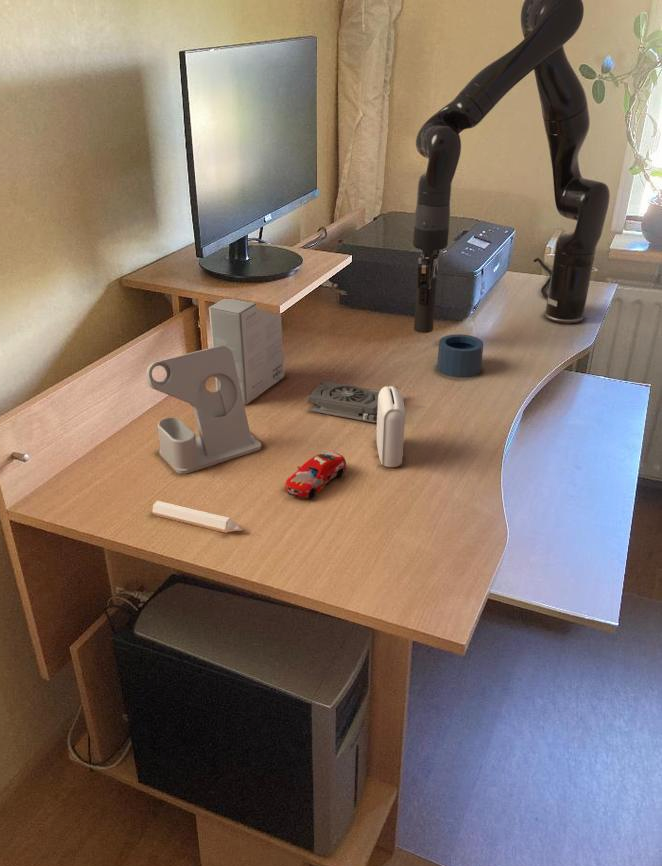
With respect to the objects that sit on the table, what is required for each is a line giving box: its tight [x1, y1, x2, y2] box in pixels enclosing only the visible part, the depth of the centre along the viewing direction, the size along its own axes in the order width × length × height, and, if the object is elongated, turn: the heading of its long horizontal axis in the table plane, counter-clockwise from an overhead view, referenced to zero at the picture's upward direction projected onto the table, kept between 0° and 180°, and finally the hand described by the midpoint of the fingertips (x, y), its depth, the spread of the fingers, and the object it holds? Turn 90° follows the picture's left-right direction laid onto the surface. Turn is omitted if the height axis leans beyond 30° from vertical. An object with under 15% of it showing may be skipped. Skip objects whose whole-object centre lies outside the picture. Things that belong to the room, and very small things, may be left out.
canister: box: [413, 276, 438, 334], centre depth 178 cm, size 4×4×12 cm
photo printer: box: [375, 385, 406, 468], centre depth 139 cm, size 10×4×12 cm, turn 0°
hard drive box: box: [208, 290, 285, 406], centre depth 161 cm, size 16×8×20 cm, turn 150°
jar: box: [436, 333, 485, 379], centre depth 171 cm, size 9×10×6 cm
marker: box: [151, 500, 244, 534], centre depth 124 cm, size 3×2×16 cm
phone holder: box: [145, 346, 262, 475], centre depth 139 cm, size 17×10×18 cm, turn 122°
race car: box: [284, 451, 347, 499], centre depth 133 cm, size 13×5×4 cm, turn 140°
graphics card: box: [306, 380, 399, 424], centre depth 158 cm, size 17×4×12 cm
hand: (425, 300), depth 178 cm, fingers closed on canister, 4 cm apart
